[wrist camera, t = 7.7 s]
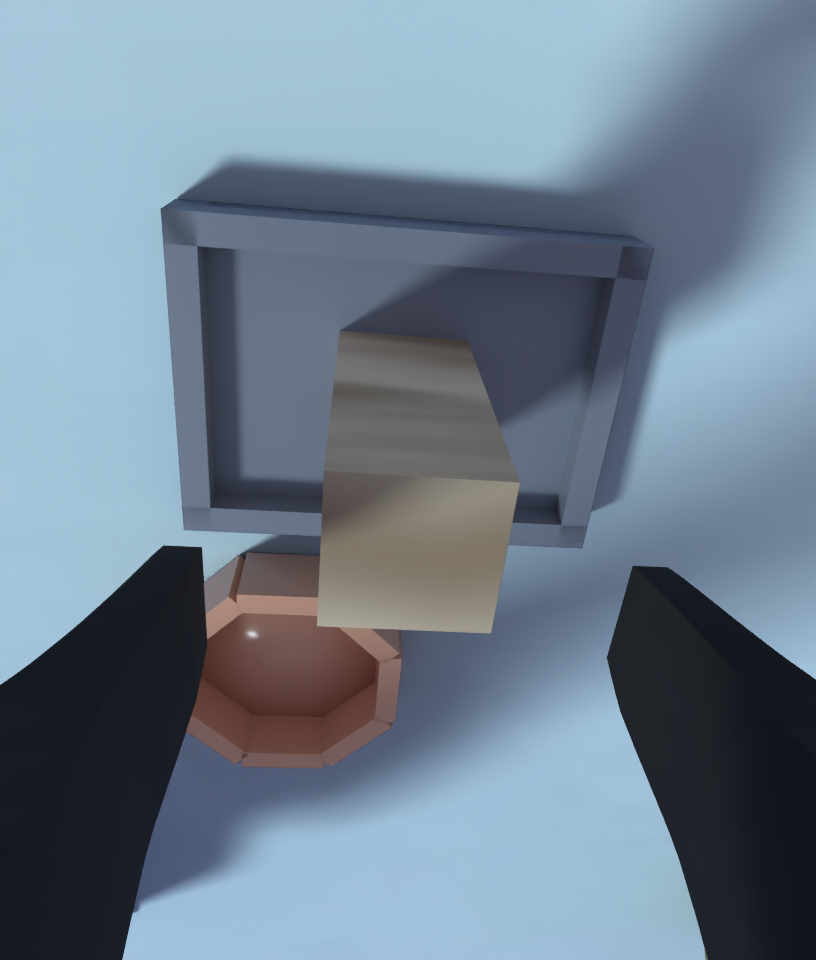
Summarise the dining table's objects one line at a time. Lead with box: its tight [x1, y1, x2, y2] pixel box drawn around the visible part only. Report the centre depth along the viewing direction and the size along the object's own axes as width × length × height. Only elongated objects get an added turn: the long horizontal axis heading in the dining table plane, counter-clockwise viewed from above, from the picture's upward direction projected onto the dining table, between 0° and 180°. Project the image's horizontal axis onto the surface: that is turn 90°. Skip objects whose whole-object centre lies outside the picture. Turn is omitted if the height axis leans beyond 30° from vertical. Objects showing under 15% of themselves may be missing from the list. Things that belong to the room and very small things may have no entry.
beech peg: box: [317, 331, 520, 634], centre depth 17 cm, size 4×4×8 cm
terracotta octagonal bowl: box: [186, 553, 402, 768], centre depth 25 cm, size 8×8×2 cm
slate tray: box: [161, 199, 654, 548], centre depth 21 cm, size 9×12×2 cm
